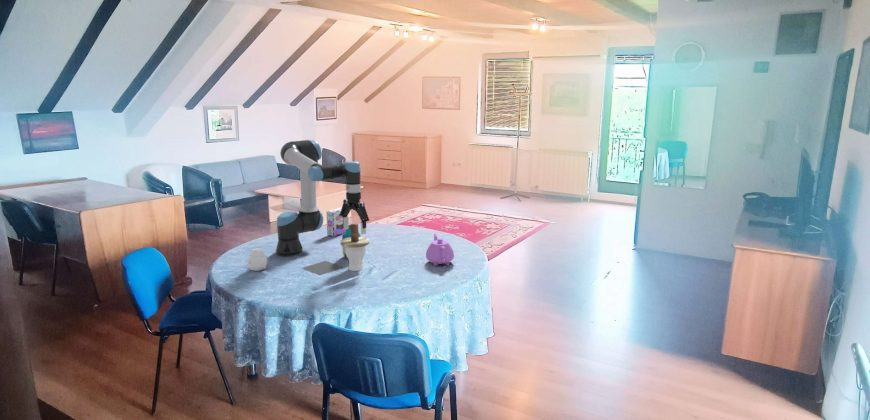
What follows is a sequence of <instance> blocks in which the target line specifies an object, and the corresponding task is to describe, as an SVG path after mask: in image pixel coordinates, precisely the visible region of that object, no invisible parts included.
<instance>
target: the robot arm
mask: <svg viewBox="0 0 870 420" xmlns="http://www.w3.org/2000/svg"><path fill="white" fill-rule="evenodd" d="M322 152H323V151H322V148H321V146H320V144H319V142H318V141H316V140H313V139H304V140H303V139H302V140H295V141H294V140H293V141H287V142H286V143H284V144H283V145H282V147H281V148H280V158H281V159H282V161H283V162H284V163H285V164H287V165H289V166H290V165H292V166H294V167H296V168H297V169H299V172H300V173H299V175H300V177H299V178H300V202H301V203H300V204H301V206H300V207H299V209H298V212H296V211H286V212H283V213H280V214H279V215H278V216H277V217H276V226H277V227H276V228H277V239H278V240H277V244H276V247H275V248H276V249H275V254H276V255H277V256H279V257H294V256H297V255H301V254H302V253H303V252H304V251H303V249H304V247H303V246H302V243H301V241H300V236H299V235H300V234H304V233H308V232H315V231H318V230H320V229H321V228H322V226H323V223H324V215H323V213H322V211H321V210H320V208H319V207H318V206H317V187H316V186H317V184H316V182H321V181H322V182H323V181H328V180H336V179H337V180H338V179H344V180H345V191H346V192H345V198H343V200H342V202H343V203H342V207H341V208H342V209H341V212H340V216H342V217H343V223H344V230H346V229H349V225H350V224H349V214H350V212H351V211H352V210H353V211H355V212H356V213H357V215H358V217H359V219H360V236H361V235H366V234H367V222H368V221H370V218H369V215H368V212H367V210H366V206H365V202H364V201H362V202H361V199H362V192H361V191H362V188H361V187H362V183H361V164H360V162H359V161H354V160H352V161H351V160H350V161H345V163H344V162H335V163H333V164H324V165H322V164H320V163H319V162H318V161H319V160H321V159H322V155H323V153H322Z"/></svg>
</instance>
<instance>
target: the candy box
mask: <svg viewBox="0 0 870 420" xmlns="http://www.w3.org/2000/svg"><path fill="white" fill-rule="evenodd" d="M341 209H342V207H337V208H334V209H331V210H326V229H327V231H326V232H327V233H326V234H327V235H326V236H329V237H330V236H331V237H337V236H340V235H343V234H344V233H345V232H346V230H344V223H343V217H342V216H340V212H341Z"/></svg>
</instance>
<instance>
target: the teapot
mask: <svg viewBox="0 0 870 420" xmlns="http://www.w3.org/2000/svg"><path fill="white" fill-rule="evenodd" d="M425 252H426V253H425V258H426V260H427V261H428V262H429V263H432V266H433V265H434V266H433V267H438V266H437V265H439V264H440V265H441V264H442V265H443V264H444V265H445V266H449V264H450V262H452V261H453V260H454V258H455V252H454V250H453V247H452V245H451V244H450V242H449V241H447V240H444V239H443V238H440V237H439V238H438V236H437V234H436V233H433V240H432V241H431V242H430V244H429V246H428V247H427V248H426V251H425Z"/></svg>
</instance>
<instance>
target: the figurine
mask: <svg viewBox="0 0 870 420" xmlns="http://www.w3.org/2000/svg"><path fill="white" fill-rule="evenodd" d="M267 258H268V257H267V256H266V254H265V251H264V250H263V249H262V247H261V246H260V247H259V248H253V249H251V251H250V253H249V258H246V261H247V262H248V263H247V264H246V267H247V269H248V270H249V271H253V272H260V271H262V270H265V269H267V265H268V259H267Z"/></svg>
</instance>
